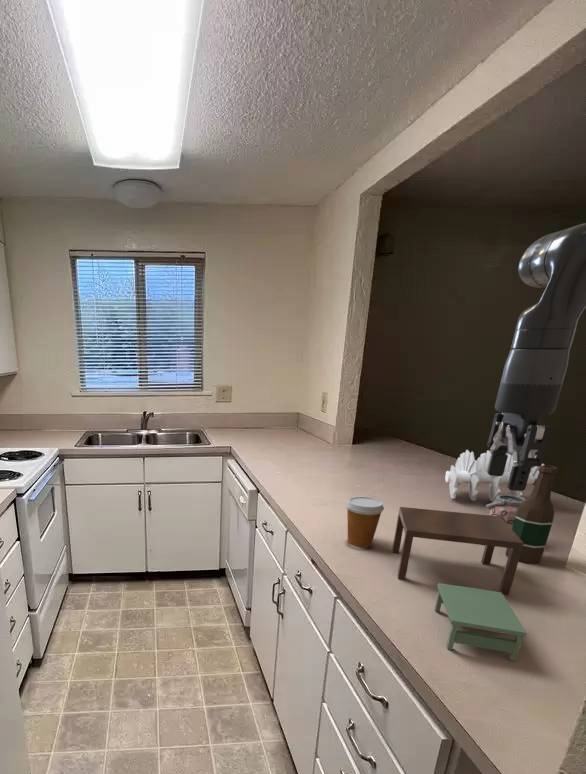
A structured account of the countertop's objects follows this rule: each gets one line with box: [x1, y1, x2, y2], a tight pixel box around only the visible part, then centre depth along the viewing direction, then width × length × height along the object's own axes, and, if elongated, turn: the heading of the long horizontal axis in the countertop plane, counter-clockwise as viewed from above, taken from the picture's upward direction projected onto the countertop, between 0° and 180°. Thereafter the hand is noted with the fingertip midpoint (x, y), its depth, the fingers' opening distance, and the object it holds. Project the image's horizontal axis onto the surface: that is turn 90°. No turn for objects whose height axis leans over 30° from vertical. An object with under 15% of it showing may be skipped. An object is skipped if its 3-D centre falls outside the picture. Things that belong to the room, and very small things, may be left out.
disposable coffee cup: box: [345, 496, 385, 548], centre depth 119 cm, size 10×10×12 cm
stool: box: [434, 582, 528, 662], centre depth 81 cm, size 11×14×6 cm
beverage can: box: [485, 494, 526, 529], centre depth 120 cm, size 9×8×12 cm
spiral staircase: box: [444, 449, 545, 503], centre depth 148 cm, size 18×18×25 cm
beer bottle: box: [505, 464, 558, 565], centre depth 107 cm, size 8×8×24 cm
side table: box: [391, 506, 524, 596], centre depth 103 cm, size 22×16×12 cm
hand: (504, 482), depth 72 cm, fingers open, 8 cm apart
